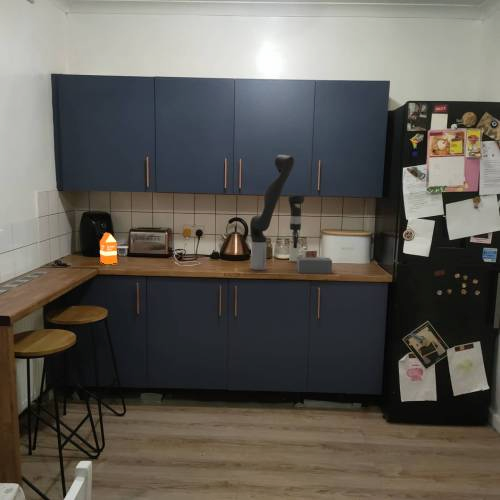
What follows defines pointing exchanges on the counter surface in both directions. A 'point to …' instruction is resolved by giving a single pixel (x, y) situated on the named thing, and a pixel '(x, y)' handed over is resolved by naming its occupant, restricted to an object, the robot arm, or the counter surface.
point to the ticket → (294, 251)
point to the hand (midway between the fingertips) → (294, 247)
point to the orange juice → (108, 249)
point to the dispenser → (314, 265)
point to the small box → (310, 253)
